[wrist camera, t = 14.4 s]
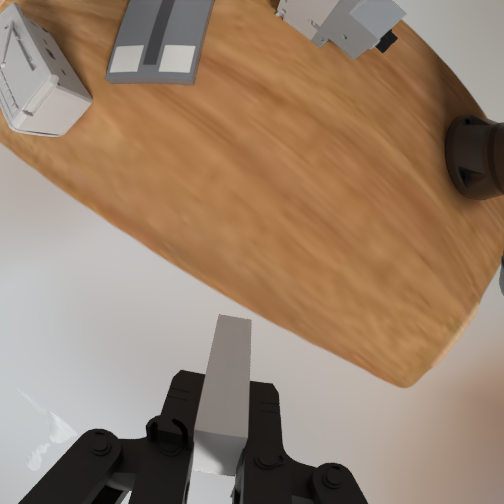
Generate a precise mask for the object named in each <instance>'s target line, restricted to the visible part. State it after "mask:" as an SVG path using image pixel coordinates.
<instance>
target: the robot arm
mask: <svg viewBox="0 0 504 504" xmlns="http://www.w3.org/2000/svg"><path fill="white" fill-rule="evenodd" d="M445 153H446V162H447V167H448V171H449V174H450V177H451V179H452V181H453V183H454V185H455V186H456V188H457V189H458V190H459V192H460V193H462V194H463V195H464V196H466V197H468V198H471V199H476V200H486V199H489V198H493V197H497V196H500V195H504V123H497V122H494V121H492V120H489V119H486V118H483V117H481V116H478V115H464V116H460V117H458V118H457V119H455V120H454V121H453V123H452V124H451V126H450V128H449V130H448V133H447V137H446V146H445ZM499 285H500V288H501V292H502V294H503V295H504V252H503V256H502V258H501V272H500V279H499ZM250 353H251V320H250V319H243V318H237V317H231V316H226V315H220V314H219V316H218V321H217V326H216V330H215V334H214V339H213V343H212V348H211V353H210V357H209V362H208V366H207V371H206V375H205V374H200V373H194V372H190V371H185V370H180V371H179V373H177V374H176V375H175V376H174V377H173V379H172V382H171V385H170V388H169V391H168V394H167V397H166V400H165V402H164V405H163V409H162V412H161V415H159V416H155V417H154V418H152V419H151V420H149V422H148V423H147V425H146V433H147V436H146V437H144V438H140V439H118V438H117V437H116V436H115V435H114V434H113V433H111V432H110V431H107V430H104V429H92V430H88V431H87V432H85V433H84V434H83V435H82V436H81V437H80V438H79V439H78V440H77V441H76V442H75V443H74V444H73V445H72V446H71V447H70V448H69V450H68V451H67V452H66V453H65V454H64V455H63V456H62V457H61V458H60V459H59V460H58V461H57V462H56V464H55V465H54V466H53V467H52V468H51V469H50V470H49V471H48V472H47V473H46V474H45V475H44V476H43V477H42V479H41V480H40V481H39V482H38V483H37V484H36V485H35V486H34V487H33V488H32V489H31V491H29V493H28V494H27V495H26V496H25V497H24V498H23V499H22V500H21V501H20V502H19V503H18V504H121V502H122V501H123V499H124V498H125V496H126V495H127V493H128V492H129V491H132V493H131V496H130V499H129V503H128V504H187V498H188V491H189V486H190V477H191V471H192V470H194V471H200V472H206V473H212V474H219V475H227V476H235V474H236V478H235V486H234V488H233V491H232V494H231V497H232V504H368V503H367V501H366V499H365V497H364V495H363V493H362V491H361V490H360V488H359V486H358V484H357V482H356V480H355V479H354V477H353V475H352V473H351V472H350V471H349V470H348V468H346V467H345V466H343V465H341V464H337V463H325V464H323V465H320V466H319V467H318V468H316V467H313V466H309V465H305V464H302V463H299V462H297V461H295V460H293V459H292V458H290V457H289V456H288V455H287V454H286V452H285V450H284V448H283V443H282V429H281V417H280V406H279V404H280V403H279V393H278V391H277V390H276V388H275V387H274V385H273V384H272V383H271V384H270V383H263V382H255V381H250Z"/></svg>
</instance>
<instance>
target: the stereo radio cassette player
mask: <svg viewBox="0 0 504 504" xmlns="http://www.w3.org/2000/svg"><path fill="white" fill-rule="evenodd" d="M92 101H93V99H92V97H91V96H90V94H89V93H88V91H87V90H86V88H85V87H84V85H83V84H82V82H81V81H80V79H79V78H78V76H77V75H76V73H75V72H74V70H73V69H72V67H71V65H70V64H69V62H68V61H67V59H66V58H65V56H64V55H63V53H62V51H61V50H60V48H59V47H58V45H57V43H56V42H55V40H54V39H53V37H52V35H51V34H50V33H49V32H48V31H47V30H46V29H44V28H43V27H41V26H40V25H38V24H37V23H35V22H33V21H32V20H30V19H29V18H27V17H26V16H24V14H23V12H22V10H21V9H20V7H19V5H18V4H16V3H12V4H10V5H9V6H8V7H7V8H6V9H5V10H4V11H3V12H2V13H1V14H0V107H1V110H2V112H3V114H4V116H5V119H6V121H7V123H8V125H9V127H10V128H11V129H12V130H13V131H16V132H19V133H25V134H32V135H40V136H51V137H59V136H62V135H64V134H65V133H66V132H67V131H68V130H69V129H70V128H71V127H72V126H73V125H74V124H75V122H76V121H77V120H78V119H79V118H80V117H81V116H82V115H83V113H84V112H85V111H86V110H87V109H88V108H89V106H90V105H91V104H92Z"/></svg>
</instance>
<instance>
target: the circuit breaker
mask: <svg viewBox="0 0 504 504" xmlns="http://www.w3.org/2000/svg"><path fill="white" fill-rule="evenodd" d="M277 10H278V12H277V13H276V16H279V15H280V16H281V17H283V21H285V22H286V23H288V24H289V25H290V26H292V27H293V28H295V29H296V30H297V31H299V32H300V33H301V34H303V35H304V36H305V37H307V38H308V39H309V40H311V41H312V42H313V43H314V44H316V45H317V46H318V47H319V48H321V47H322V46H323V45H324V44H325V43H326V42H327V41H328V40H329V39H330V40H331V41H332V42H333V43H335V44H336V45H337V46H338V47H339V48H341V49H342V50H343V51H344V52H345V53H346V54H347V55H349V56H350V57H351V58H352V59H353V60H354V59H355V58H357V57H358V56H359V55H361V54H362V53H363V52H364V51H366V50H367V49H369V50H371V49H373V48H374V47H376V48H377V49H379V50H380V51H381V52H382V53H384V52H385V51H386V50H387V49H388V48H389V46H390V45H391V44H392V43H394V42H395V41H396V40H397V39H398V38H397V37H396V36H395V35H394V34H393V33H392V32H391V31H392V29H391V28H392V27H393V26H394V25H395V24H396V23H397V22H398V21H399V20H401V19H402V18H403V17H404V16H405V15H406V13H405V12H404V11H403V10H402V9H401V8H400V7H399V6H398V5H397V4H396V3H395V2H394V1H392V0H280V3H279V6H278V9H277Z"/></svg>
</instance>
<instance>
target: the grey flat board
mask: <svg viewBox="0 0 504 504" xmlns="http://www.w3.org/2000/svg"><path fill="white" fill-rule="evenodd" d="M214 2H215V0H130V2H129V5H128V7H127V10H126V13H125V15H124V18H123V21H122V24H121V27H120V29H119V32H118V36H117V39H116V42H115V45H114V48H113V52H112V55H111V59H110V62H109V66H108V70H107V74H106V78H105V80H107V81H108V82H110V83H111V84H130V83H149V84H178V85H193V86H194V84H195V79H196V74H197V70H198V65H199V60H200V56H201V52H202V48H203V43H204V39H205V35H206V31H207V27H208V24H209V20H210V16H211V12H212V9H213V5H214Z"/></svg>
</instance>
